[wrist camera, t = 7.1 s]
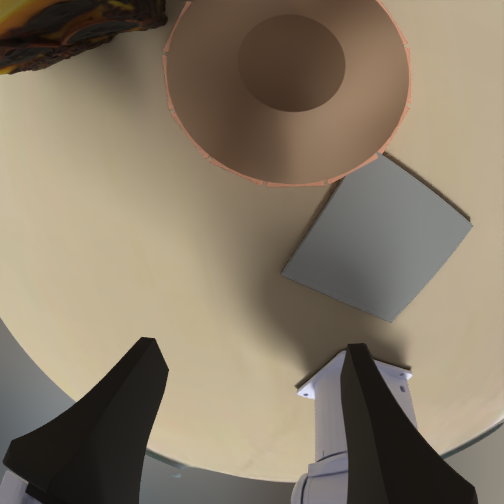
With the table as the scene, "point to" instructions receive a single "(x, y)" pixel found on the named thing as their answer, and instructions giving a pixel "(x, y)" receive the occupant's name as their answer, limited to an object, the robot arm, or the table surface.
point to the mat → (377, 240)
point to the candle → (67, 28)
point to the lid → (288, 84)
